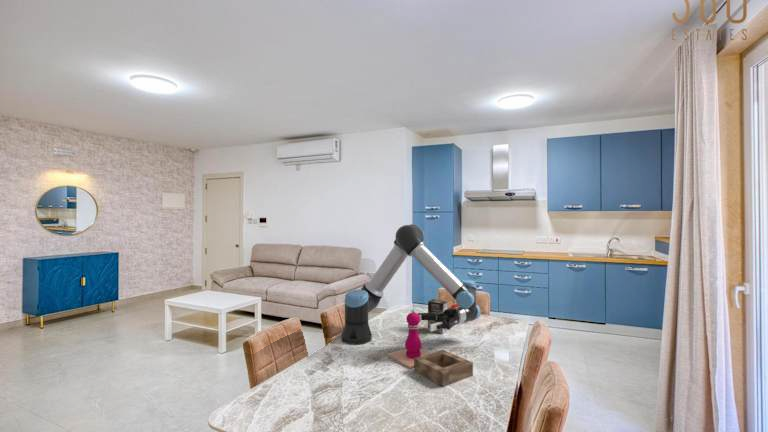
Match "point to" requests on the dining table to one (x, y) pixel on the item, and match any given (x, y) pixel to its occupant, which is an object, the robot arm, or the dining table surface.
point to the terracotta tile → (405, 357)
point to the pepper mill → (413, 336)
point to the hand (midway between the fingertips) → (419, 324)
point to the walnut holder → (445, 376)
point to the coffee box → (436, 307)
